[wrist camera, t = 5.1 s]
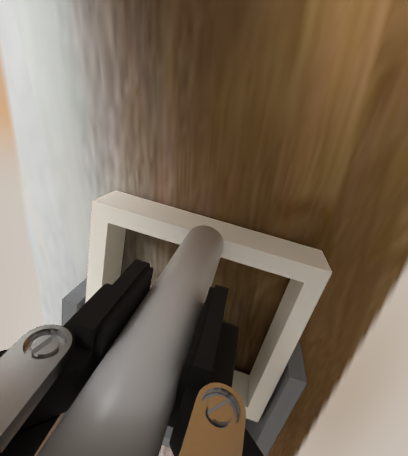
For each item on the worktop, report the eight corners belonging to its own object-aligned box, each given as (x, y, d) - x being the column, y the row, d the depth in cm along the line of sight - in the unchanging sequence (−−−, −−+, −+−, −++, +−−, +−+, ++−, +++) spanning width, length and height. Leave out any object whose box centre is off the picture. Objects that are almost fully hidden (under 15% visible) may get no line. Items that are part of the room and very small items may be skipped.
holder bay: (93, 272, 24) (62, 299, 20) (299, 339, 22) (307, 382, 18) (85, 369, 29) (59, 405, 25) (254, 431, 27) (253, 479, 23)
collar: (116, 182, 20) (-261, 332, 6) (325, 242, 18) (548, 660, 4) (100, 333, 26) (-101, 595, 11) (258, 388, 24) (253, 769, 10)
